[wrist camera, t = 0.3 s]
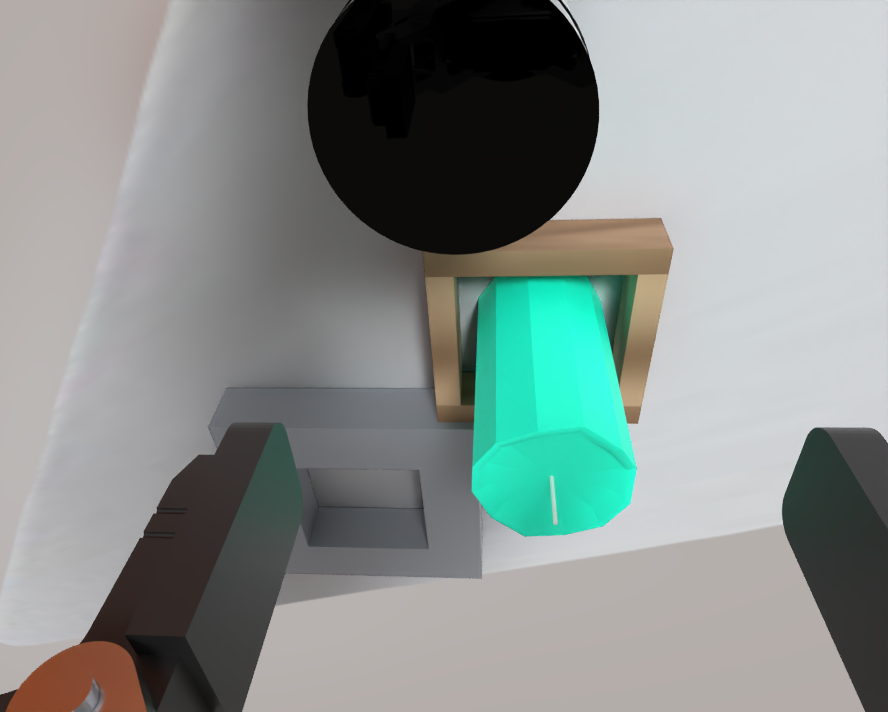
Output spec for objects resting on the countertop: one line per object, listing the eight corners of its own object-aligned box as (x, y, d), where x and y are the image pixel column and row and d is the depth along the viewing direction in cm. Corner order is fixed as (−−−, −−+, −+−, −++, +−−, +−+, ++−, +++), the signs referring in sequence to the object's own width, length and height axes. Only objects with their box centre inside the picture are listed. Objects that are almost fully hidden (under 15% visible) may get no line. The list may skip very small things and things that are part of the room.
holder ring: (427, 222, 28) (422, 252, 26) (661, 218, 27) (673, 248, 25) (441, 388, 34) (437, 422, 32) (630, 388, 34) (637, 423, 32)
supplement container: (589, 67, 23) (637, 196, 15) (427, 143, 26) (395, 289, 18) (520, -142, 20) (535, -113, 12) (337, -31, 22) (246, 56, 14)
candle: (572, 371, 33) (601, 583, 24) (461, 344, 32) (448, 552, 23) (622, 278, 29) (679, 489, 20) (497, 245, 28) (498, 448, 19)
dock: (226, 387, 35) (204, 436, 33) (478, 388, 34) (476, 438, 31) (282, 533, 44) (268, 581, 42) (482, 538, 43) (481, 587, 40)
